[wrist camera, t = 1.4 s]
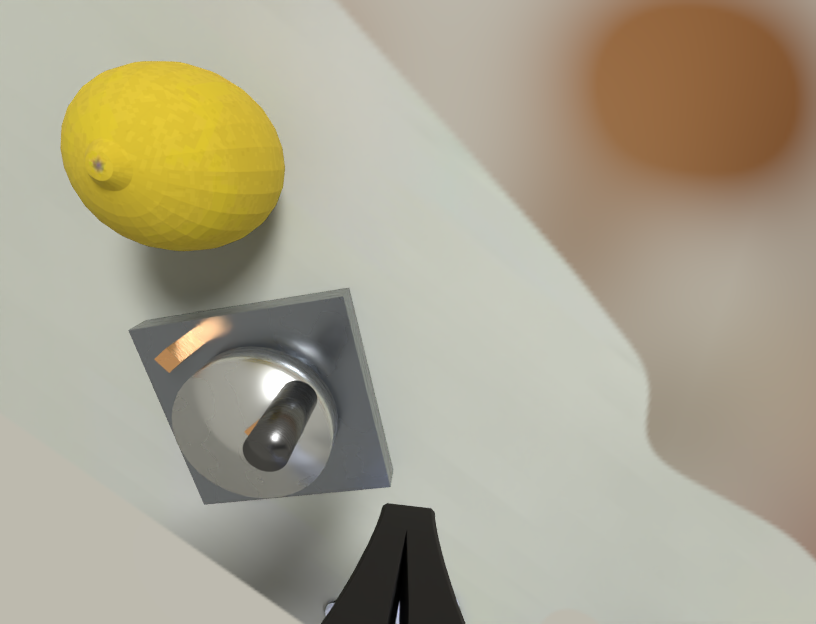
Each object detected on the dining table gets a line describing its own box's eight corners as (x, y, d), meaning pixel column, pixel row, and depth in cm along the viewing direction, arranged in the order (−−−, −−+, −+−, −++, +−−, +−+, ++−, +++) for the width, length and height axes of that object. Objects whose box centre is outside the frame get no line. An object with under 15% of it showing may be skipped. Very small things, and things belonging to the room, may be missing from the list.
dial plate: (393, 469, 22) (385, 515, 20) (215, 487, 24) (184, 532, 21) (348, 287, 19) (332, 311, 16) (145, 320, 20) (98, 347, 18)
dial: (353, 467, 21) (327, 559, 16) (219, 481, 22) (158, 572, 17) (316, 336, 18) (274, 398, 14) (168, 357, 19) (81, 423, 15)
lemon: (306, 237, 18) (213, 296, 11) (180, 216, 19) (2, 260, 11) (316, 95, 16) (211, 48, 9) (174, 72, 17) (-46, 7, 9)
